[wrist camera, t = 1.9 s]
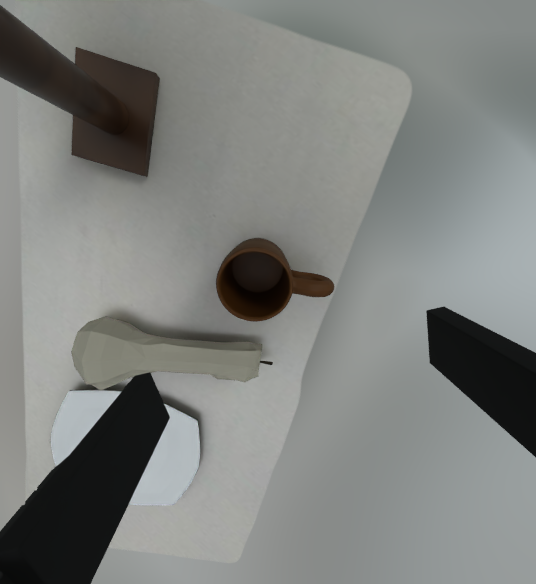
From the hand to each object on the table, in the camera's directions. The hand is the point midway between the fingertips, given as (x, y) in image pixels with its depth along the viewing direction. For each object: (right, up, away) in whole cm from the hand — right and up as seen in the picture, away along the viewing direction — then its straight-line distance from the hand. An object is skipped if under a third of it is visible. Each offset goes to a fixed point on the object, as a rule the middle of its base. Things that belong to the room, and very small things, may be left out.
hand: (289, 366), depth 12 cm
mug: (0, +7, +21) cm, 22 cm away
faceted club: (-13, -4, +24) cm, 28 cm away
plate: (-23, -21, +29) cm, 43 cm away
